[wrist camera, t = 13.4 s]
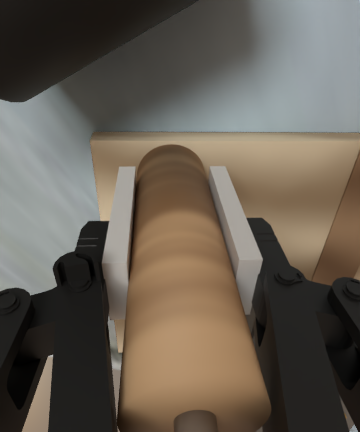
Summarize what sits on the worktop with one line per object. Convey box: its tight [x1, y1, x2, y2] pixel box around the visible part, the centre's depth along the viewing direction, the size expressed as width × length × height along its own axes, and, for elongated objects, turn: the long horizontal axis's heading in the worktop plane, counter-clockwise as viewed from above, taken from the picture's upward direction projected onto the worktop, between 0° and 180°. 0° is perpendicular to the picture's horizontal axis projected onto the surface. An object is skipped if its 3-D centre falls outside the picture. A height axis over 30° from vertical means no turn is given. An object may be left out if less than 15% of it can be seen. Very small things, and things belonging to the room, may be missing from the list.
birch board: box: [90, 132, 360, 353], centre depth 22 cm, size 18×19×1 cm
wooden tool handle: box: [117, 144, 271, 432], centre depth 12 cm, size 4×4×14 cm
